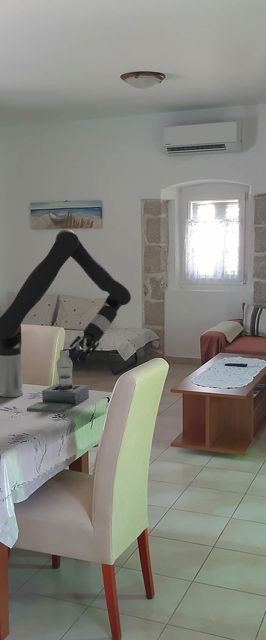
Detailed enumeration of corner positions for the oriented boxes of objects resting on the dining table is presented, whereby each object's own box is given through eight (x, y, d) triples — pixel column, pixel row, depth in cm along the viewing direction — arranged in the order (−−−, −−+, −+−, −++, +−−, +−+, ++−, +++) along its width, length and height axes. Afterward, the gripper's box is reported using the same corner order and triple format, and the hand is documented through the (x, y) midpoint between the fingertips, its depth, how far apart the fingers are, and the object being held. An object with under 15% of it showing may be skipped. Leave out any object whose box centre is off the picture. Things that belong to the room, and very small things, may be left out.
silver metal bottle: (75, 398, 259) (73, 349, 257) (72, 402, 252) (70, 352, 250) (59, 398, 260) (57, 349, 257) (56, 402, 253) (54, 352, 251)
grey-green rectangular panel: (26, 410, 242) (26, 407, 242) (37, 404, 251) (37, 402, 251) (60, 412, 238) (60, 410, 238) (71, 406, 246) (71, 404, 246)
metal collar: (42, 403, 252) (42, 390, 252) (57, 395, 264) (56, 383, 264) (75, 405, 248) (75, 392, 247) (88, 397, 260) (88, 385, 259)
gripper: (81, 320, 266) (58, 351, 260) (101, 323, 254) (77, 356, 249) (93, 332, 269) (70, 362, 264) (112, 335, 258) (89, 367, 253)
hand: (73, 359), depth 257 cm, fingers open, 8 cm apart
